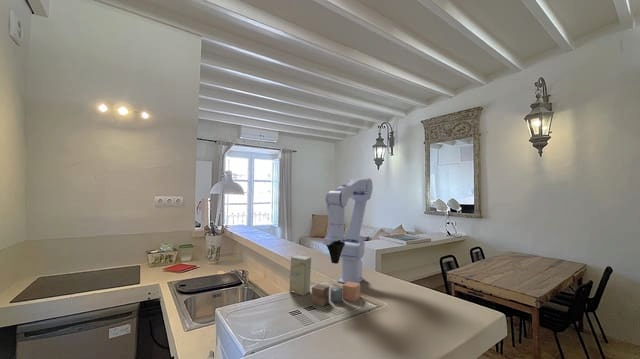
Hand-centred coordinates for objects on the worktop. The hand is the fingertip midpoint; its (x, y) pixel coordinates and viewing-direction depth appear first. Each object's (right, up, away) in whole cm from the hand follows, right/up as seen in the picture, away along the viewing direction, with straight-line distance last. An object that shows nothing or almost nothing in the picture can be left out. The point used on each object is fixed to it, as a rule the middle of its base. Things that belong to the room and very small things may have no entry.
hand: (335, 262), depth 88 cm
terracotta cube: (+5, -10, -4) cm, 12 cm away
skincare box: (-12, -10, 0) cm, 16 cm away
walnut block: (-5, -10, -9) cm, 14 cm away
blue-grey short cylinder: (0, -10, -6) cm, 12 cm away
